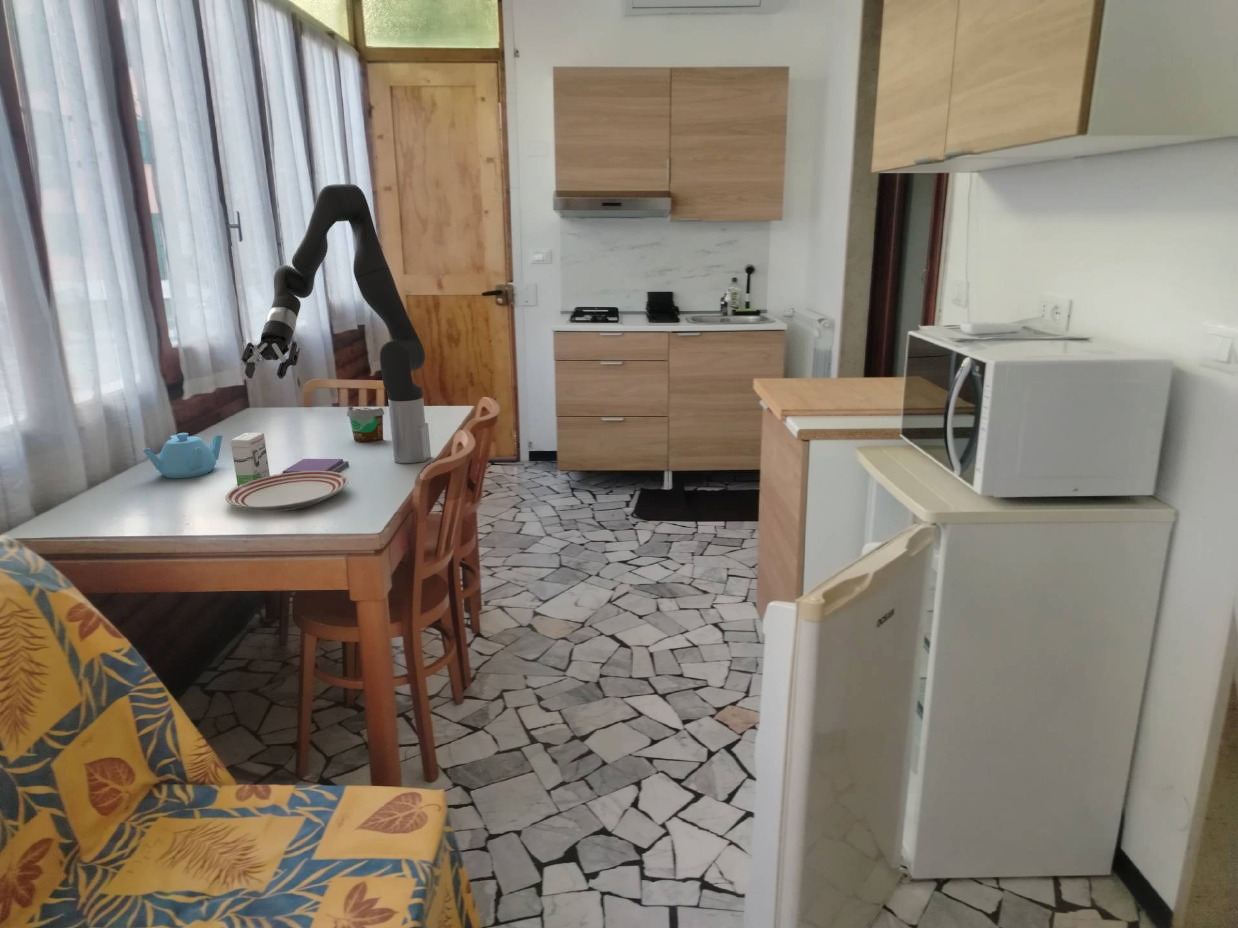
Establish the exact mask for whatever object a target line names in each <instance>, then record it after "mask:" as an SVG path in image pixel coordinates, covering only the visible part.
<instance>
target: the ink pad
mask: <svg viewBox="0 0 1238 928" xmlns="http://www.w3.org/2000/svg"><path fill="white" fill-rule="evenodd" d="M349 463H350V462H349V460H344V459H343V458H303V459H301V460H300V461H298V462H296V463H294V464H292V465H291V466H289V467H287V468H286V469H284V470H282V472H281V473H280V474H285V473H292V472H302V471H331V472H337V473H341V471H343V470H344V469H346V468H348V467H349Z"/></svg>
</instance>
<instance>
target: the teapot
mask: <svg viewBox="0 0 1238 928" xmlns="http://www.w3.org/2000/svg"><path fill="white" fill-rule="evenodd" d="M222 441H223V435H222V434H215V435H214V437H213V439H212V442H211V444H210V446H209V445H208V444H207V443H206V442H205V441H204V440H203V439H202V438H201V437H200V436H193V435H192V436H191V435H190V436H189V433H187V432H180V433H177V434H174V435H169V439H168V440H167V441H165V443H164V444H163V447H162V449H161V451H160V452H159V456H157V455H156V454H155V453H154V452H153V451H152V450H151V448H150V447H146V448H142V451H143V452H144V454H145V455H146V457H147V459H149V461H150V462H151V464H152V465H153V466H154V468H155V469H156V470H157V471H158V472H159V473H161V475H163V476H164V477H165V478H167V479H188V478H189V479H190V478H195V477H200V476H203V475H206V474H209V473H210V472H212V471H213V470H214V468H215V466H216V465H217V460H219V457H220V451H221V448H222V447H221V446H222ZM208 472H209V473H208Z"/></svg>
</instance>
